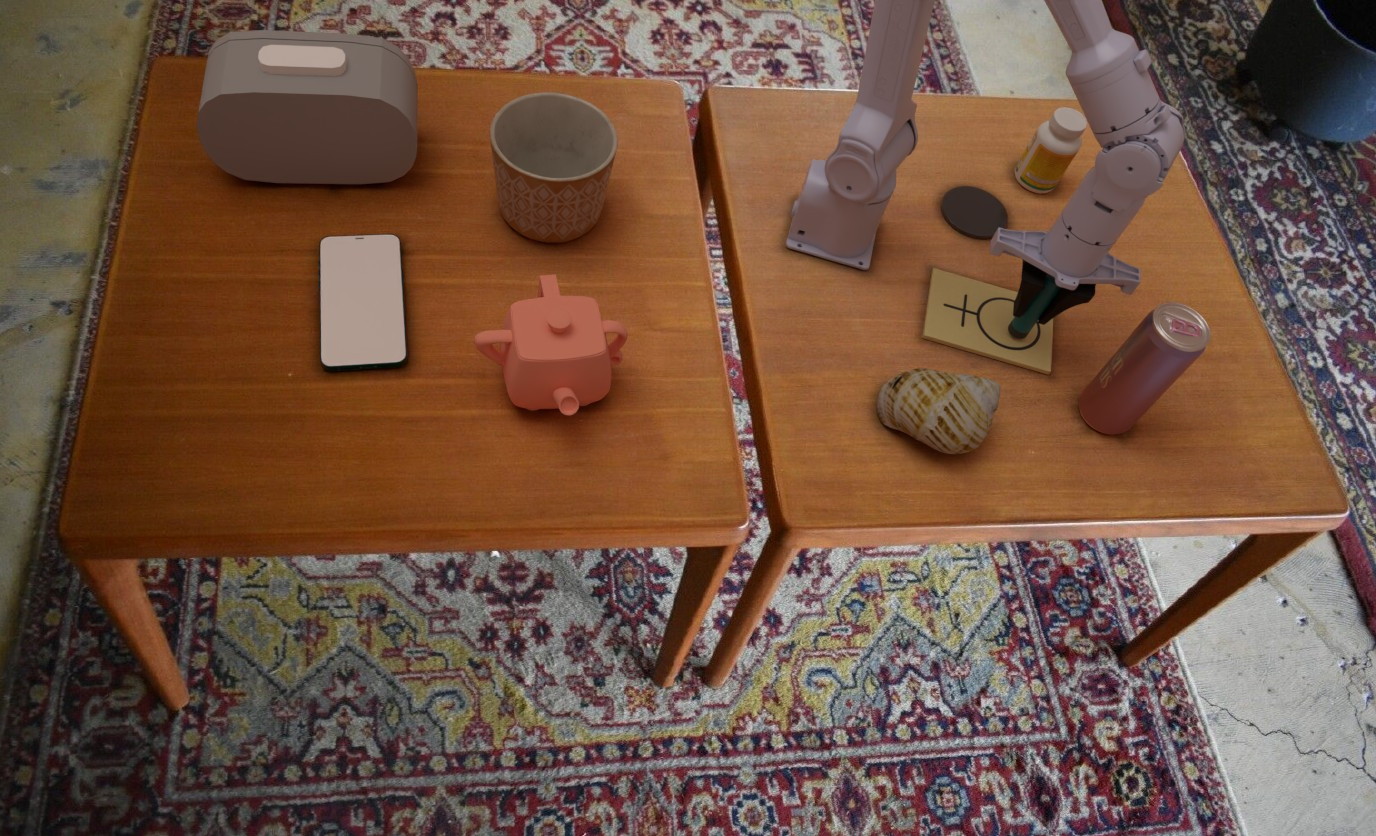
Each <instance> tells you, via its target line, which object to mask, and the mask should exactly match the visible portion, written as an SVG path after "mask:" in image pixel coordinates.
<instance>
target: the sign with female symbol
mask: <svg viewBox="0 0 1376 836" xmlns="http://www.w3.org/2000/svg"><path fill="white" fill-rule="evenodd" d="M928 286H929V287H928V294H927V299H926V300H927V301H926V308H925V313H924V314H925V315H924V322H923V327H922V328H923V329H922V334H921V335H922V336H921V338H922V339H924V340H926V341H927V340H928V341H931V342H933V343H937V344H941V345H944V346H948V347H951V348H954V349H958V350H961V351H965V352H968V353H972V354H975V355H978V356H983V357H986V358H989V359H993V360H997V361H999V362H1003V363H1006V364H1010V365H1013V366H1017V367H1020V368H1024V369H1027V370H1031V371H1034V372H1038V373H1041V374H1043V375H1044V374H1045V375H1048V376H1049V375H1050V374H1051V372H1052V359H1053V356H1052V355H1053V335H1054V318H1053V319H1051V320H1050V321H1049V322H1047V323H1046V324H1045V325H1042V324H1039V323H1038V322H1039V320H1038V321H1037V322H1036V324H1035V325H1034V327H1033V328H1032V329H1031V331H1030V332H1029V334H1028V335H1027V336H1026V337H1025V338H1023V339H1018V338H1015V337H1013V336H1012V335H1011V334H1010V333H1009V331H1008V326H1009V324H1010V323H1011V321H1012V320H1013V318H1014V317H1015V316H1013V307H1014V301H1015V299H1016V297H1017V294H1018V291H1015V290H1011V289H1008V288H1004V287H1001V286H998V285H994V284H991V283H987V282H984V281H981V280H977V279H974V278H970V277H966V276H963V275H960V274H956V273H953V272H949V271H946V270H942V269H939V268H936V267H933V268H932V269H931V271H930V278H929V285H928Z"/></svg>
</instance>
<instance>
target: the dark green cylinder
mask: <svg viewBox="0 0 1376 836" xmlns="http://www.w3.org/2000/svg"><path fill="white" fill-rule="evenodd" d="M1060 288H1061V287H1059V286H1057V285H1056V283H1055V278H1054V277H1053V276H1051V275H1049V274H1048V273H1047V275H1046V276H1045V289H1043V290H1042V291H1041V292H1039V293H1038V294H1037V295H1036V296H1035V297H1034V298H1033V300H1032V301H1031V302H1030V304H1029V305H1028V307H1027V308H1026V310H1025V312H1024V313H1023V314H1022V316H1021V317H1020V318H1018V317H1014V318H1013V320H1012V321H1011V323H1010V324H1009V326H1008V331H1009V333H1010V334H1011V335H1012V336H1013V337H1015V338H1018V339H1023V338H1025V337H1026V336H1027V335H1028V334H1029V332H1030V331H1031V329H1032V328H1033V327H1034V325H1035V324H1036V322H1037V321H1038V320H1039V318H1040V317H1041V315H1042V314H1043V312H1044V311H1045V310H1046V308H1047V307H1048V305H1049V304H1050V303H1051V301H1052V300H1053V298H1054V297H1055V296H1056V294H1057V293H1058V291H1059V290H1060Z"/></svg>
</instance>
